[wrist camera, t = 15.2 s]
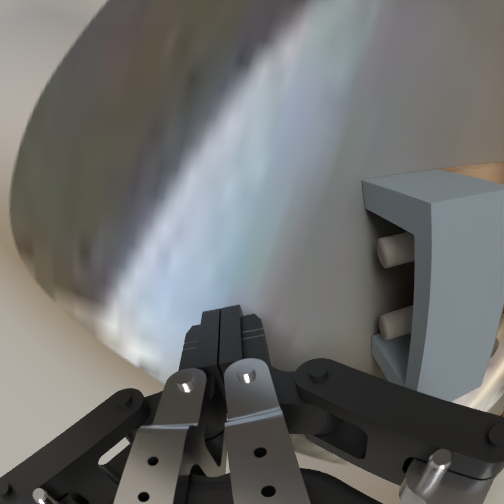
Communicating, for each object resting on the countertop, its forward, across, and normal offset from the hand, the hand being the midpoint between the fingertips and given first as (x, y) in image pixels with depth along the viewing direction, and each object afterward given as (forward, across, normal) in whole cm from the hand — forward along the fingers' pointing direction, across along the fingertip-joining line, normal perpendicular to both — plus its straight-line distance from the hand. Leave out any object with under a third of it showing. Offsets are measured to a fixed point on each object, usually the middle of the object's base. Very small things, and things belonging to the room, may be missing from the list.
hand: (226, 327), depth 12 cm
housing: (+1, -9, 0) cm, 9 cm away
